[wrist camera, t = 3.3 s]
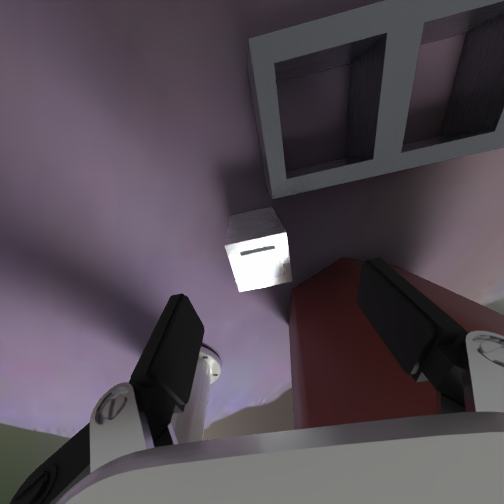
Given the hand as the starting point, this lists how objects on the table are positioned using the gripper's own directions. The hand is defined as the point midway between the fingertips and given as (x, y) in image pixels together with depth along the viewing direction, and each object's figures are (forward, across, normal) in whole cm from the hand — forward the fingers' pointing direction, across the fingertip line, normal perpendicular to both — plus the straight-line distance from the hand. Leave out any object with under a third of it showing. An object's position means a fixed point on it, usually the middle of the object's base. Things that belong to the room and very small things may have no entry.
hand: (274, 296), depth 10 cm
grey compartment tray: (+12, -14, -8) cm, 20 cm away
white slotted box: (+11, +1, +1) cm, 11 cm away
